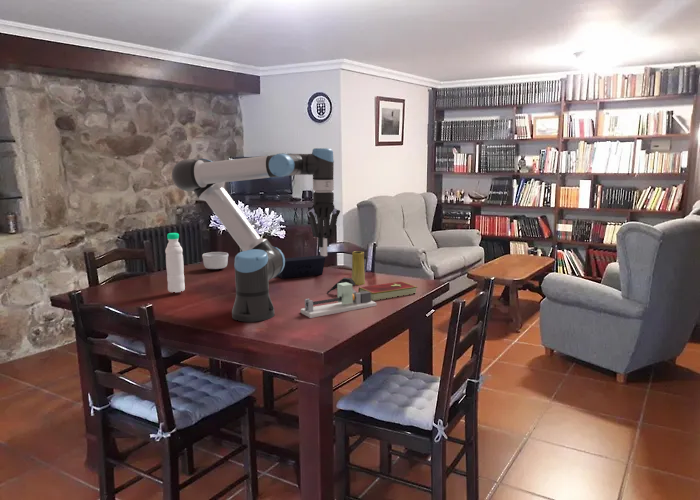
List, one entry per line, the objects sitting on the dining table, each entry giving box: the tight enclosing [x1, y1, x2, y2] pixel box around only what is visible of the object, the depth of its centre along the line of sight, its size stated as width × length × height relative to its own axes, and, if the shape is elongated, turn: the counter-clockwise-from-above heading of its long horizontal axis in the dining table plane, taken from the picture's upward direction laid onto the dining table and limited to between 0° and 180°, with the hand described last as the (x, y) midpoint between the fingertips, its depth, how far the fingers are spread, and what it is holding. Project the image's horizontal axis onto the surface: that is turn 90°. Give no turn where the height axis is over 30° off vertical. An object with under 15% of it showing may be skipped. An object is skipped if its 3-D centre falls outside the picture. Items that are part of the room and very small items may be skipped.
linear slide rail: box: [300, 290, 377, 319], centre depth 204 cm, size 28×8×6 cm, turn 121°
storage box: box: [277, 254, 326, 279], centre depth 265 cm, size 21×16×10 cm
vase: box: [351, 250, 366, 286], centre depth 244 cm, size 6×6×14 cm
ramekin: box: [201, 251, 229, 270], centre depth 285 cm, size 13×13×7 cm
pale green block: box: [336, 282, 354, 304], centre depth 205 cm, size 4×4×7 cm
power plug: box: [326, 277, 356, 294], centre depth 227 cm, size 6×8×12 cm
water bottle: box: [164, 232, 186, 293], centre depth 233 cm, size 7×7×25 cm
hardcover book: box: [358, 281, 418, 302], centre depth 225 cm, size 12×21×4 cm, turn 119°
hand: (323, 255), depth 202 cm, fingers closed
